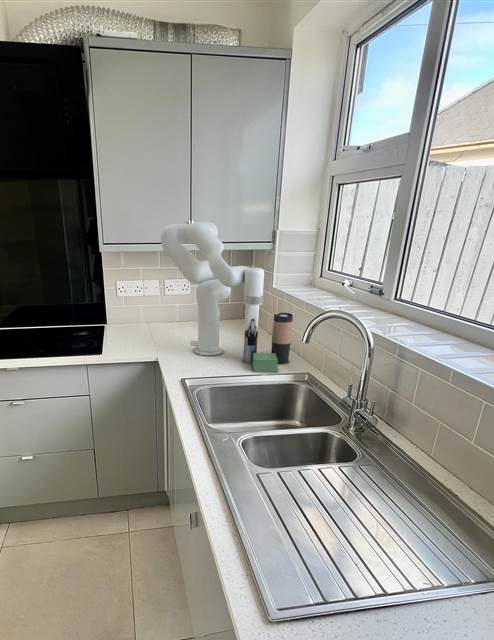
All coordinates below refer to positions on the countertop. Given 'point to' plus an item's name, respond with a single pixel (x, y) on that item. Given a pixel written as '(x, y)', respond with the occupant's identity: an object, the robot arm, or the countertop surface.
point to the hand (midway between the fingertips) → (250, 342)
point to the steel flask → (249, 348)
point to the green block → (265, 362)
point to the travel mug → (282, 336)
